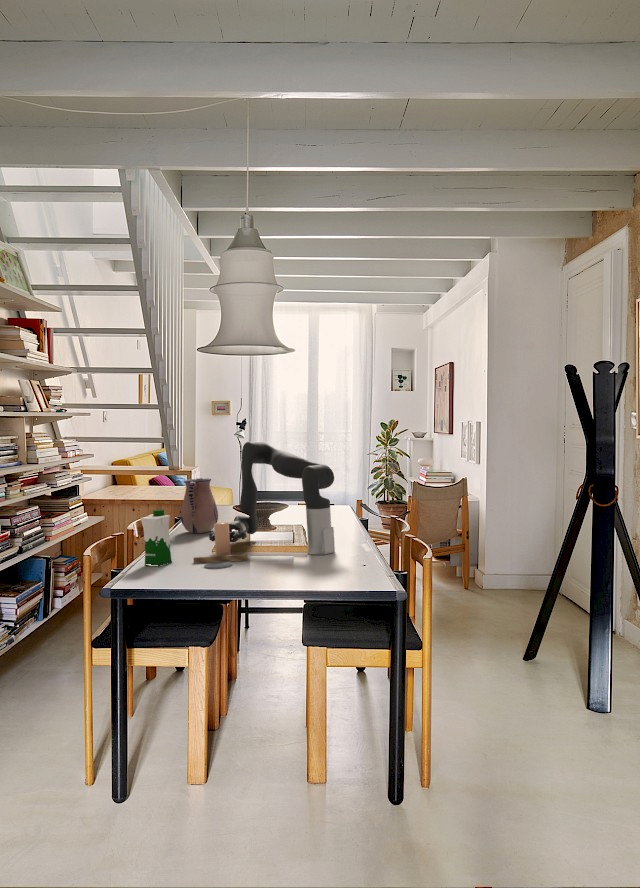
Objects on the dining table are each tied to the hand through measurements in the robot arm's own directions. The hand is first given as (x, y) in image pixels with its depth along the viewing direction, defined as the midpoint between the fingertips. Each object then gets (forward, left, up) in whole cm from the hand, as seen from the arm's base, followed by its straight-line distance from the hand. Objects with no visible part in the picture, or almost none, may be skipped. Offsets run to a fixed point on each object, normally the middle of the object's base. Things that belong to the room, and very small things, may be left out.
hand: (223, 538), depth 276 cm
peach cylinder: (0, +1, -7) cm, 7 cm away
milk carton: (+14, +21, -7) cm, 26 cm away
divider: (-5, +7, -7) cm, 11 cm away
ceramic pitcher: (+54, -35, -7) cm, 65 cm away
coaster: (-10, +13, -7) cm, 18 cm away
